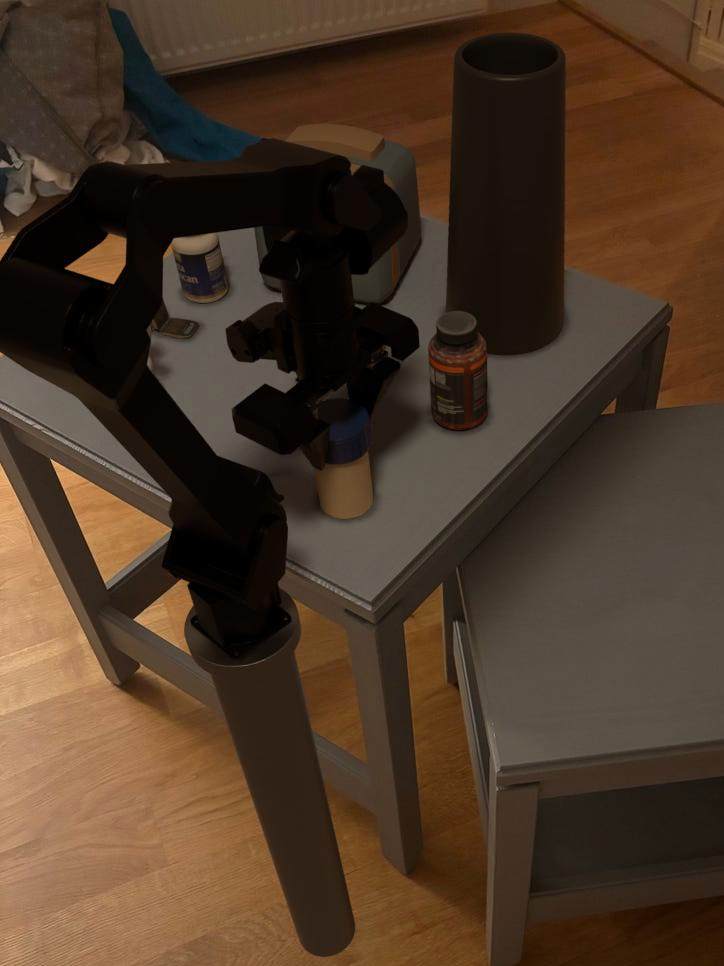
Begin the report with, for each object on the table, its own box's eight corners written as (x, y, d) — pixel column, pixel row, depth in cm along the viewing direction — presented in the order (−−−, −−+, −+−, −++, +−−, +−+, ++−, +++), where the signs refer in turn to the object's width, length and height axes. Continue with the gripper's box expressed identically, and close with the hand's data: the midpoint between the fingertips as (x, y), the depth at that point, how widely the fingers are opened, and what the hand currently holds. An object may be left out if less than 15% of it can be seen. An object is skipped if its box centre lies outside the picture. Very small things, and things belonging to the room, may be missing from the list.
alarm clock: (257, 293, 124) (233, 162, 112) (304, 223, 134) (286, 96, 122) (389, 312, 122) (378, 180, 109) (426, 239, 132) (420, 111, 119)
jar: (345, 527, 100) (334, 449, 92) (309, 501, 102) (295, 424, 94) (384, 499, 102) (376, 422, 95) (348, 475, 104) (338, 397, 97)
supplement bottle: (490, 398, 112) (490, 305, 103) (484, 434, 108) (485, 341, 99) (434, 395, 112) (430, 302, 103) (427, 431, 108) (422, 338, 100)
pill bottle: (174, 297, 124) (154, 219, 116) (201, 274, 127) (184, 197, 119) (210, 309, 122) (193, 231, 115) (238, 286, 125) (222, 209, 118)
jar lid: (381, 453, 95) (379, 429, 93) (318, 472, 94) (315, 448, 92) (357, 415, 99) (355, 390, 97) (297, 433, 97) (292, 408, 95)
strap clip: (121, 329, 120) (111, 296, 117) (133, 314, 122) (123, 281, 118) (189, 340, 118) (181, 307, 115) (200, 325, 120) (192, 292, 117)
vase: (543, 279, 126) (556, 18, 104) (579, 344, 118) (602, 75, 95) (433, 296, 124) (423, 32, 102) (462, 363, 116) (457, 92, 93)
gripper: (318, 222, 92) (338, 367, 105) (165, 325, 83) (206, 472, 95) (418, 261, 88) (427, 408, 101) (269, 375, 79) (298, 521, 91)
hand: (340, 449), depth 97 cm, fingers closed on jar lid, 6 cm apart
